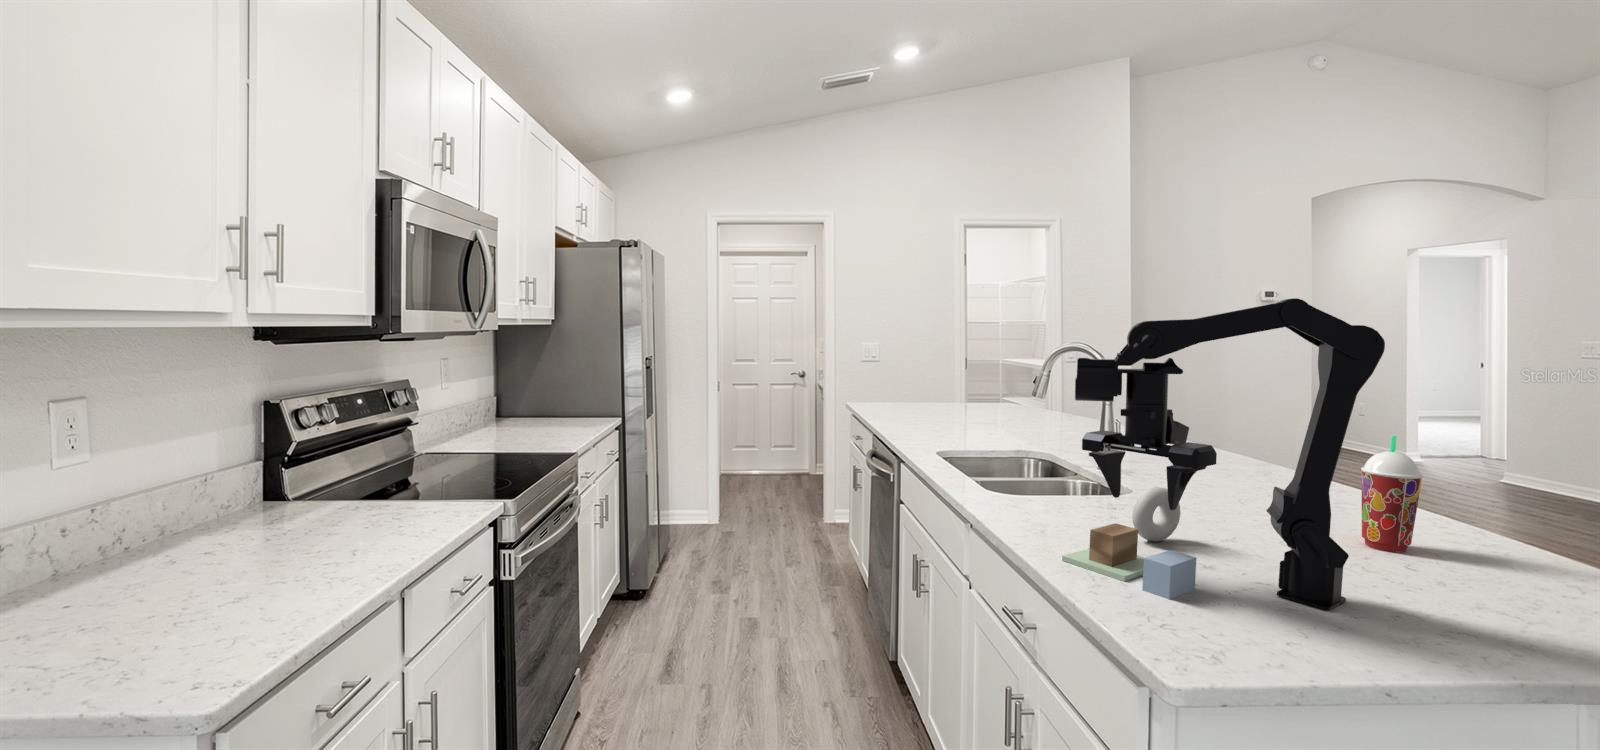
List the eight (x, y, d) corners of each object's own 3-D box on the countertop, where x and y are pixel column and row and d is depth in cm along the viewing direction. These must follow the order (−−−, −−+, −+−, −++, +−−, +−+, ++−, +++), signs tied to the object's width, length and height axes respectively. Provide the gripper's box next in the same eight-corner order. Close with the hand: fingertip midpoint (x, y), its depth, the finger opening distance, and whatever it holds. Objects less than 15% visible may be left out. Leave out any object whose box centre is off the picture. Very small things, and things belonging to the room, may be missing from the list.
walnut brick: (1136, 559, 115) (1138, 529, 115) (1111, 567, 111) (1113, 536, 111) (1114, 552, 119) (1115, 523, 118) (1089, 559, 115) (1090, 529, 114)
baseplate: (1163, 567, 114) (1163, 563, 114) (1124, 581, 108) (1124, 576, 107) (1101, 549, 123) (1101, 544, 123) (1062, 560, 117) (1062, 555, 117)
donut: (1141, 547, 124) (1144, 491, 123) (1126, 541, 127) (1128, 486, 127) (1183, 541, 128) (1186, 487, 127) (1167, 535, 131) (1170, 482, 130)
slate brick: (1194, 590, 105) (1196, 557, 104) (1169, 600, 101) (1170, 566, 100) (1168, 581, 108) (1169, 549, 108) (1142, 591, 104) (1143, 558, 104)
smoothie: (1429, 555, 121) (1439, 440, 120) (1380, 554, 121) (1389, 439, 120) (1390, 540, 130) (1398, 432, 128) (1344, 539, 130) (1351, 432, 128)
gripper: (1238, 404, 104) (1234, 508, 105) (1122, 394, 120) (1119, 485, 121) (1197, 410, 98) (1193, 520, 99) (1080, 399, 114) (1078, 493, 115)
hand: (1143, 503), depth 109 cm, fingers open, 9 cm apart
